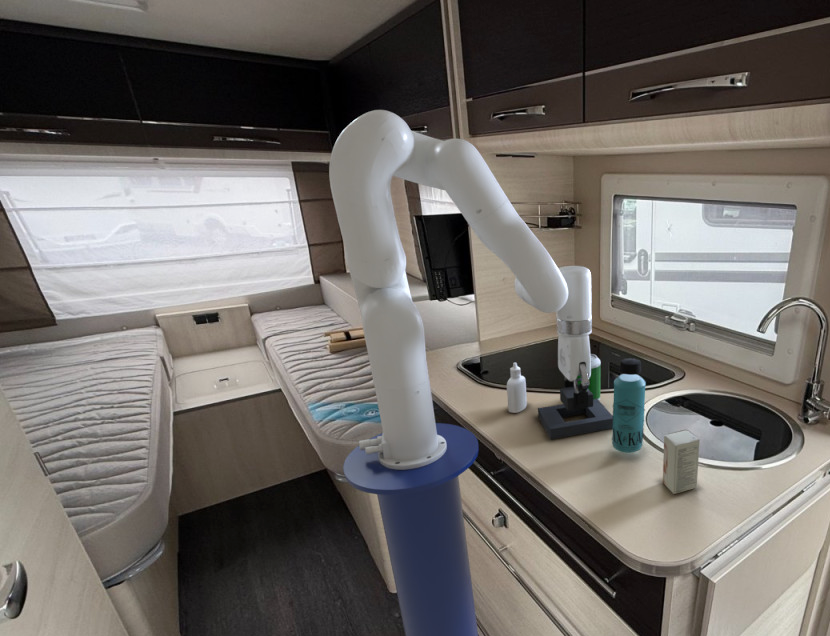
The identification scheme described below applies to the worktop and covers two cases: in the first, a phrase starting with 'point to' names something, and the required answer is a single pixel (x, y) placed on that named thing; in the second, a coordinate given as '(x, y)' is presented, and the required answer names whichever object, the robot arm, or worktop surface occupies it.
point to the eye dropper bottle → (516, 390)
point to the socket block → (558, 428)
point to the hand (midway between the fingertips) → (576, 401)
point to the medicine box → (680, 461)
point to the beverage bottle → (628, 407)
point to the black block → (568, 399)
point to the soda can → (594, 377)
